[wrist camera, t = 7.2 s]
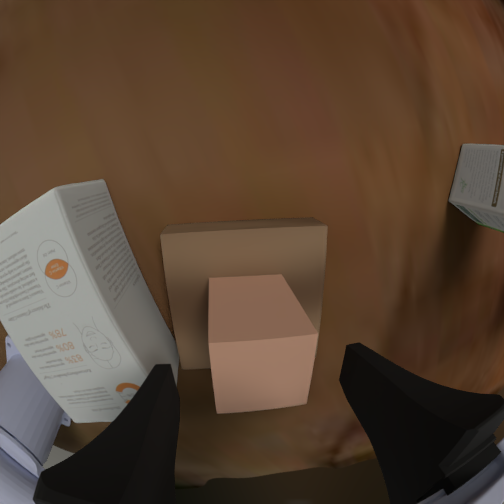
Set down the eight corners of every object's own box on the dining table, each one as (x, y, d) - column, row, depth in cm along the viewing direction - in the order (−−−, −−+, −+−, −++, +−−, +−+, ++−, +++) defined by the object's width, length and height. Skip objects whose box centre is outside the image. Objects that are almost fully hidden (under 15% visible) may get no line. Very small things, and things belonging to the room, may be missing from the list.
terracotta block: (278, 333, 17) (306, 403, 11) (213, 338, 16) (216, 413, 10) (281, 274, 15) (318, 333, 10) (209, 277, 15) (208, 343, 9)
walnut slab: (303, 333, 21) (316, 356, 18) (185, 343, 19) (182, 369, 17) (309, 216, 18) (327, 225, 15) (169, 223, 17) (160, 234, 14)
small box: (22, 224, 15) (97, 370, 19) (-34, 248, 9) (74, 425, 13) (107, 177, 15) (182, 350, 19) (56, 184, 9) (176, 415, 13)
